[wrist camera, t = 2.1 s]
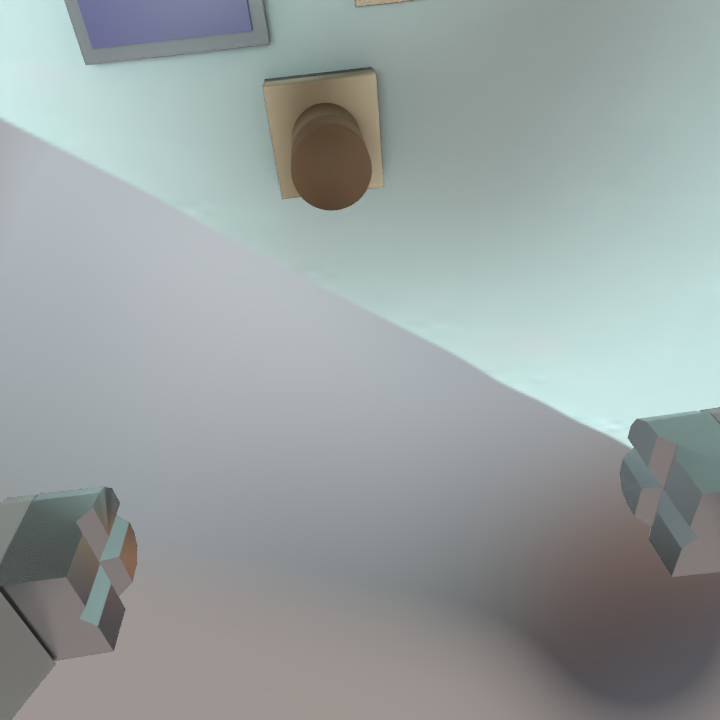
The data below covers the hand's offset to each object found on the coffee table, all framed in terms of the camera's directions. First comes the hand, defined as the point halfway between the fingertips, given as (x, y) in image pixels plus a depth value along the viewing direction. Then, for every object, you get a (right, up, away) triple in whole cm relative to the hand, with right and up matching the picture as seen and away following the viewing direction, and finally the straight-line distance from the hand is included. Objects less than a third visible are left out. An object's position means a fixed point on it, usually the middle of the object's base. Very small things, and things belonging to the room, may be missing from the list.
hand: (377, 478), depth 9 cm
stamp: (-2, +13, +19) cm, 23 cm away
